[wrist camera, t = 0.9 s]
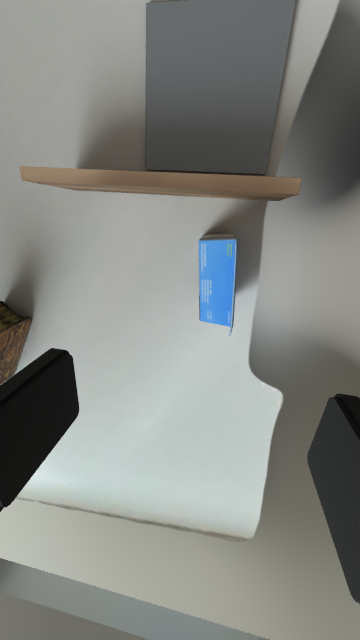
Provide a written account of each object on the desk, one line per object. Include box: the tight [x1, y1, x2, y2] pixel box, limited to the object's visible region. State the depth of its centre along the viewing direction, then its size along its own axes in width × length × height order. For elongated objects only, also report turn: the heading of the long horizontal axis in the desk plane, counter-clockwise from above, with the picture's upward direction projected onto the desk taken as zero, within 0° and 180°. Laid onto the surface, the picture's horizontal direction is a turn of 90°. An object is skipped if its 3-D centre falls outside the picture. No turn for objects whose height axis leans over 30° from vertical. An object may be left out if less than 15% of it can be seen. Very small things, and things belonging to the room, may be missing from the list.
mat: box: [146, 0, 296, 175], centre depth 26 cm, size 14×14×1 cm
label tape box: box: [199, 233, 237, 336], centre depth 27 cm, size 9×4×12 cm, turn 3°
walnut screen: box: [20, 166, 302, 201], centre depth 26 cm, size 1×26×9 cm, turn 87°
